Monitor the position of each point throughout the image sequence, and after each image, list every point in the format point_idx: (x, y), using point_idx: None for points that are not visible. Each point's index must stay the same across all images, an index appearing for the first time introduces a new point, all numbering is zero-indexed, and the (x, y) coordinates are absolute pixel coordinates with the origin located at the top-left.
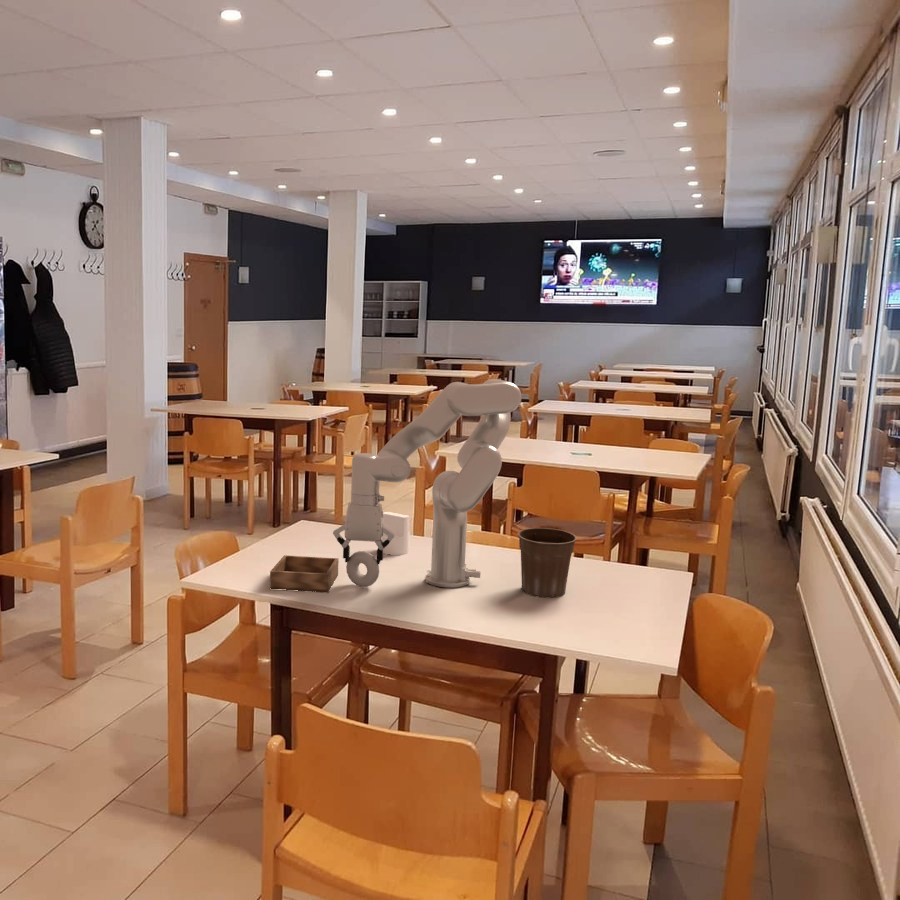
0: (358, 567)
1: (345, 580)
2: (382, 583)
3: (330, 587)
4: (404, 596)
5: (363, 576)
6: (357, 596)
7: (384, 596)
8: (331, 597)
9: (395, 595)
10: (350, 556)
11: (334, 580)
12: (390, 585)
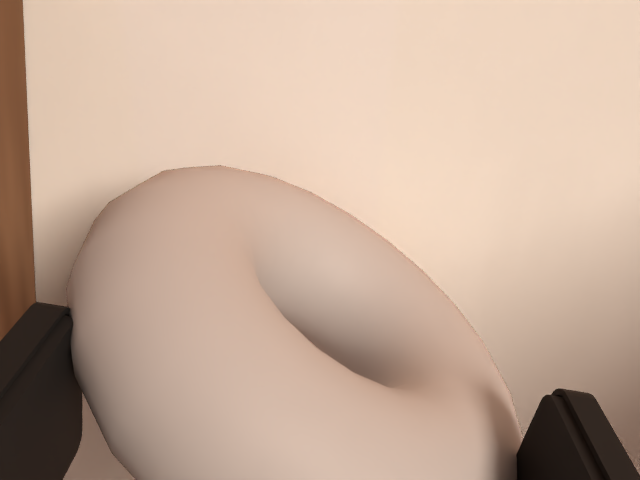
0: (256, 264)
1: (138, 33)
2: (536, 142)
3: (30, 285)
4: (634, 454)
5: (323, 344)
6: None
7: None
8: (87, 455)
9: None
10: (81, 380)
11: (19, 82)
12: (603, 205)
